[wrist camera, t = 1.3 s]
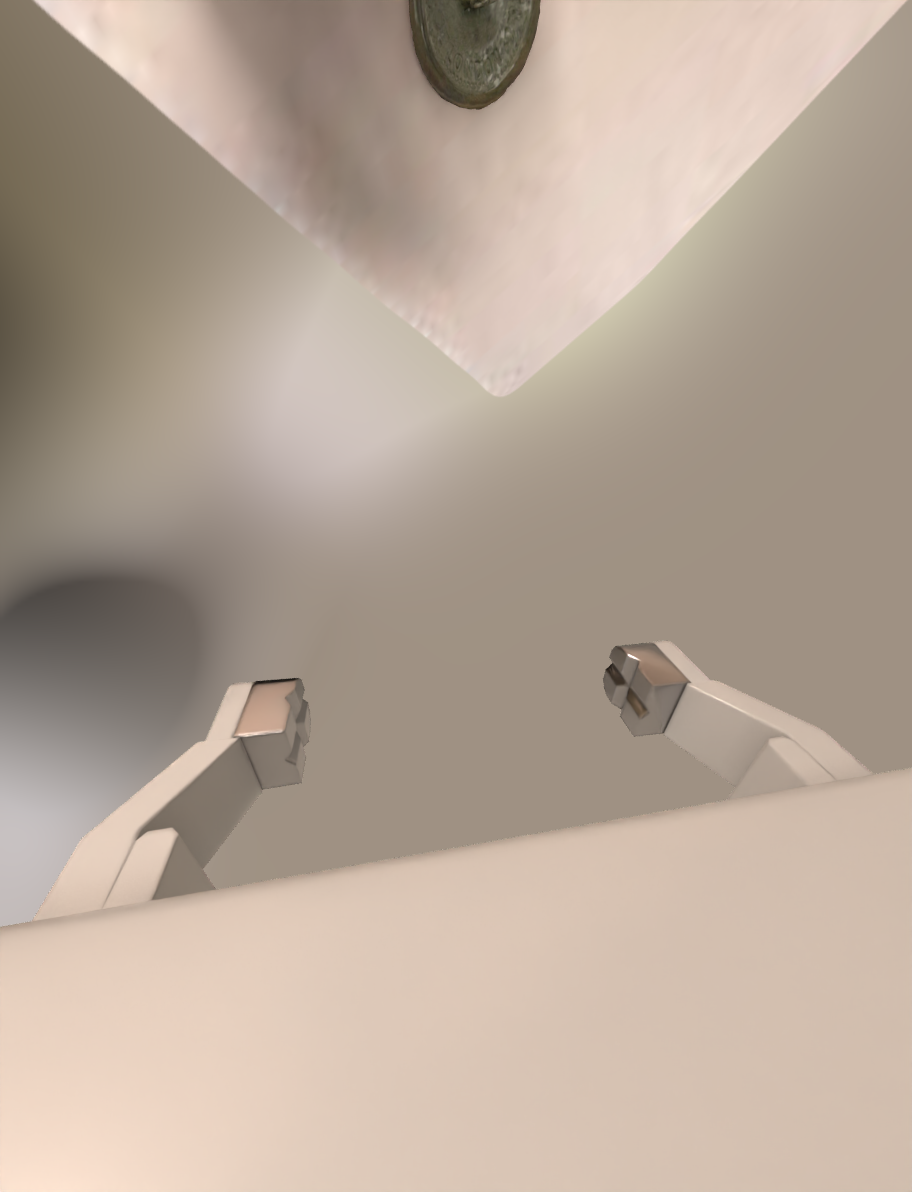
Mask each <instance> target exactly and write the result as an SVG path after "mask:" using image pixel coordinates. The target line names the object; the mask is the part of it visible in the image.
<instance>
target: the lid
mask: <svg viewBox="0 0 912 1192" xmlns="http://www.w3.org/2000/svg"><path fill="white" fill-rule="evenodd" d="M540 1H541V0H409V12H410V21H411V28H412V33H413V41H414V47H415V51H416V54H417V57H418V59H419V62H420V65H421V67H422V70H423V72H424V74H425V75H426V77H427V79H428V81H429V82H430V84H431V85H432V87H433V88H434V89H435V90H436V91H437V92H438V93H439V95H440V96H441V97H442V98H443V99H445V100H446V101H448V102H451V103H452V104H455V105H457V106H458V107H462V108H467V109H482V108H484V107H486V106H488V105H490V104H491V103H493V102H495V101H496V100H498V99H499V98H500V97H501V96H502V95H503V94H504V93H505V91H506V90H507V88H508V87H509V86H510V85H511V84H512V83H513V82H514V81H515V79H516V78H517V76H518V75H519V74H520V72H521V71H522V69H523V67H524V65H525V63H526V60H527V57H528V55H529V52H530V50H531V47H532V44H533V41H534V38H535V34H536V30H537V23H538V18H539V14H540Z"/></svg>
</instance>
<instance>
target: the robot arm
mask: <svg viewBox="0 0 912 1192" xmlns="http://www.w3.org/2000/svg"><path fill="white" fill-rule="evenodd" d="M610 659H611V661H612V664H611V665H610V666H609V667H608V668H607V669H606V671H605V674H604V678H603V682H604V689H605V692H606V695H607V697H608V698H609V700H610V702H611V703H612V704H614V705H615V706H617V707H618V708H620V709H621V714H620V717H621V718H622V720H623V721H624V723H625V724H626V726H627V727H628V729H629V730H630V731H631V733H632V735H633V736H634V737H635V736H643V735H653V734H662V733H664V736H666V737H667V738H668V739H670V740H671V741H672V742H674V743H675V744H677V745H678V746H679V747H681V748H682V749H684V750H685V751H686V752H688V753H689V754H690V755H692V756H693V757H694V758H696V759H697V760H699V761H700V762H701V763H703V764H704V765H705V766H707V767H708V768H710V769H711V770H712V771H714V772H715V773H717V774H718V775H719V776H720V777H722V778H723V779H725V780H726V781H727V782H729V783H730V784H731V785H733V786H734V787H735V788H734V789H733V791H732V792H731V793H730V795H729V796H728V798H727V800H724V801H718V802H712V803H707V804H701V805H695V806H690V807H684V808H678V809H673V810H667V811H661V812H655V813H650V814H644V815H639V816H632V817H627V818H621V819H615V820H609V821H604V822H598V823H592V824H586V825H581V826H575V827H569V828H563V829H558V830H552V831H546V832H541V833H535V834H529V835H524V836H518V837H513V838H507V839H501V840H495V841H490V842H484V843H478V844H473V845H467V846H462V847H455V848H450V849H444V850H439V851H433V852H427V853H421V854H416V855H410V856H404V857H398V858H393V859H387V860H381V861H375V862H370V863H364V864H358V865H352V866H347V867H341V868H335V869H330V870H324V871H319V872H312V873H307V874H301V875H295V876H290V877H284V878H278V879H272V880H267V881H261V882H255V883H250V884H244V885H238V886H232V887H227V888H221V889H215V887H214V886H213V884H212V883H211V881H210V880H209V878H208V877H207V875H206V874H205V872H204V871H203V868H204V867H205V866H206V864H207V863H208V862H209V861H210V859H211V858H212V857H213V855H214V854H215V853H216V852H217V850H218V849H219V847H220V846H221V845H222V844H223V842H224V841H225V840H226V839H227V837H228V836H229V835H230V833H231V832H232V831H233V830H234V828H235V827H236V825H237V824H238V823H239V822H240V820H241V819H242V818H243V817H244V815H245V814H246V813H247V811H248V810H249V809H250V808H251V806H252V805H253V804H254V802H255V801H256V800H257V798H258V797H259V796H260V795H261V793H262V790H263V789H269V788H275V787H281V786H286V785H292V784H299V783H302V778H303V772H304V766H305V761H306V755H305V752H304V748H303V747H304V746H305V745H306V744H307V743H308V742H309V737H310V725H311V718H310V709H309V705H308V702H306V701H305V700H304V699H303V694H304V686H303V683H302V680H301V679H300V678H292V679H279V680H266V681H256V682H247V683H233V684H232V685H231V686H230V687H229V688H228V689H227V691H226V694H225V696H224V698H223V701H222V703H221V705H220V708H219V710H218V712H217V715H216V717H215V719H214V722H213V724H212V726H211V728H210V731H209V733H208V735H207V738H206V740H205V741H203V742H198V743H196V744H195V745H194V746H192V747H191V748H190V749H189V750H188V751H186V752H185V753H184V754H183V755H182V756H180V757H179V758H178V759H177V760H176V761H174V762H173V763H172V764H171V765H170V766H168V767H167V768H166V769H165V770H164V771H162V772H161V773H160V774H159V775H158V776H156V777H155V778H154V779H153V780H152V781H150V782H149V783H148V784H147V785H145V786H144V787H143V788H142V789H141V790H139V791H138V792H137V793H136V794H135V795H133V796H132V797H131V798H130V799H129V800H127V801H126V802H125V803H124V804H123V805H121V806H120V807H119V808H118V809H117V810H115V811H114V812H113V813H112V814H111V815H109V816H108V817H107V818H106V819H105V820H103V821H102V822H101V823H100V824H99V825H97V826H96V827H95V828H94V829H92V830H91V831H90V832H89V833H88V834H86V835H85V836H84V837H83V838H82V839H81V840H80V842H79V843H78V845H77V847H76V848H75V850H74V852H73V853H72V855H71V857H70V858H69V860H68V862H67V863H66V865H65V867H64V869H63V870H62V872H61V874H60V875H59V877H58V878H57V880H56V882H55V884H54V885H53V887H52V888H51V890H50V892H49V893H48V895H47V897H46V898H45V900H44V902H43V903H42V905H41V907H40V908H39V910H38V912H37V913H36V915H35V917H34V918H33V920H32V921H31V922H25V923H20V924H14V925H8V926H2V927H0V1192H912V768H907V769H901V770H895V771H890V772H884V773H878V774H873V773H872V772H871V771H870V770H868V769H867V768H866V767H865V766H864V765H862V764H861V763H860V762H859V761H858V760H857V759H856V758H854V757H853V756H852V755H851V754H850V753H849V752H847V751H846V750H845V749H844V748H843V747H842V746H841V745H839V744H838V743H837V742H836V741H835V740H834V739H832V738H831V737H830V736H829V735H828V734H827V733H825V732H824V731H823V730H822V729H820V728H818V727H816V726H814V725H811V724H809V723H807V722H805V721H803V720H800V719H799V718H796V717H794V716H792V715H790V714H788V713H786V712H783V711H781V710H779V709H777V708H774V707H773V706H771V705H768V704H766V703H764V702H761V701H760V700H757V699H755V698H753V697H751V696H749V695H747V694H745V693H743V692H740V691H738V690H736V689H734V688H732V687H729V686H727V685H725V684H723V683H721V682H719V681H716V680H713V681H711V680H709V679H708V678H707V677H706V676H705V675H704V674H703V673H702V672H701V671H700V670H699V669H698V668H697V667H696V666H695V665H694V664H693V663H692V662H691V661H690V660H689V659H688V658H687V657H686V656H685V655H684V654H683V653H682V652H681V651H680V650H679V649H678V648H677V647H676V646H675V645H674V644H673V643H672V642H670V641H667V640H665V641H656V642H649V643H640V644H631V645H622V646H615V647H614V648H613V649H612V651H611V654H610Z"/></svg>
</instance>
